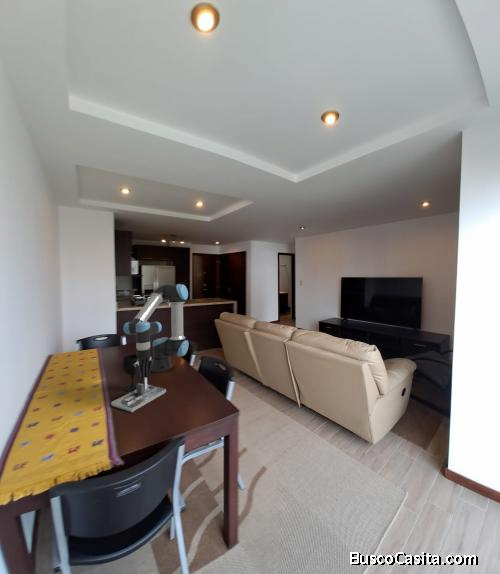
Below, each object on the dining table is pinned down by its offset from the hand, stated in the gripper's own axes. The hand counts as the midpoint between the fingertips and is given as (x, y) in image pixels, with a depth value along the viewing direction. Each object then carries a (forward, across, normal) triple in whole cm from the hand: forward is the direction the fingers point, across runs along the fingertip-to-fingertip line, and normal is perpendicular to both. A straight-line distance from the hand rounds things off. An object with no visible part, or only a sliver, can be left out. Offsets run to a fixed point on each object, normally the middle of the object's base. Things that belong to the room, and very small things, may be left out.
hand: (144, 388), depth 141 cm
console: (+5, +3, 0) cm, 6 cm away
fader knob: (+2, +3, 0) cm, 4 cm away
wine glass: (+5, -5, -16) cm, 18 cm away
